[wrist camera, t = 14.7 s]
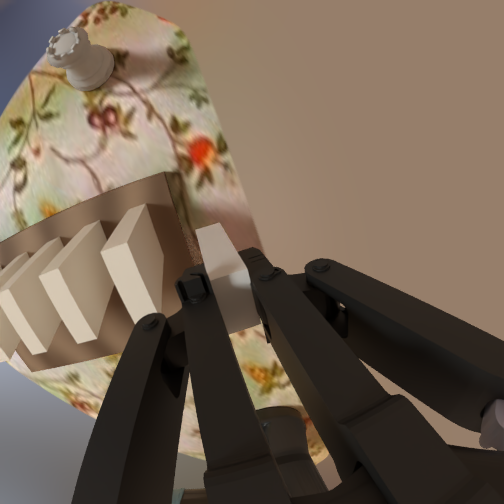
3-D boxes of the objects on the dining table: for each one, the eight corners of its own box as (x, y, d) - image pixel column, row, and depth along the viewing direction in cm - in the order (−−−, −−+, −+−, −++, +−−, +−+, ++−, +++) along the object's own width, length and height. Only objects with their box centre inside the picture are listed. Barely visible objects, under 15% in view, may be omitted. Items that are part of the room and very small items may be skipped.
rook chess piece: (94, 41, 16) (68, 6, 9) (125, 62, 18) (106, 30, 11) (62, 78, 16) (24, 57, 9) (91, 100, 18) (58, 83, 11)
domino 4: (145, 203, 22) (127, 242, 13) (163, 255, 24) (161, 320, 15) (128, 209, 22) (100, 252, 13) (147, 261, 24) (136, 327, 15)
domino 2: (59, 236, 20) (8, 288, 12) (80, 283, 23) (47, 351, 14) (47, 242, 20) (-5, 294, 11) (68, 288, 22) (32, 354, 13)
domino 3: (99, 220, 21) (58, 268, 12) (119, 270, 23) (97, 338, 14) (84, 226, 21) (38, 276, 12) (105, 275, 23) (77, 344, 14)
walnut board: (164, 171, 23) (163, 172, 21) (212, 317, 29) (214, 325, 28) (-27, 258, 19) (-33, 263, 17) (34, 364, 25) (31, 372, 24)
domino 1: (26, 251, 20) (-26, 304, 11) (47, 295, 22) (10, 360, 13) (16, 256, 20) (-35, 309, 11) (37, 299, 22) (-1, 362, 13)
